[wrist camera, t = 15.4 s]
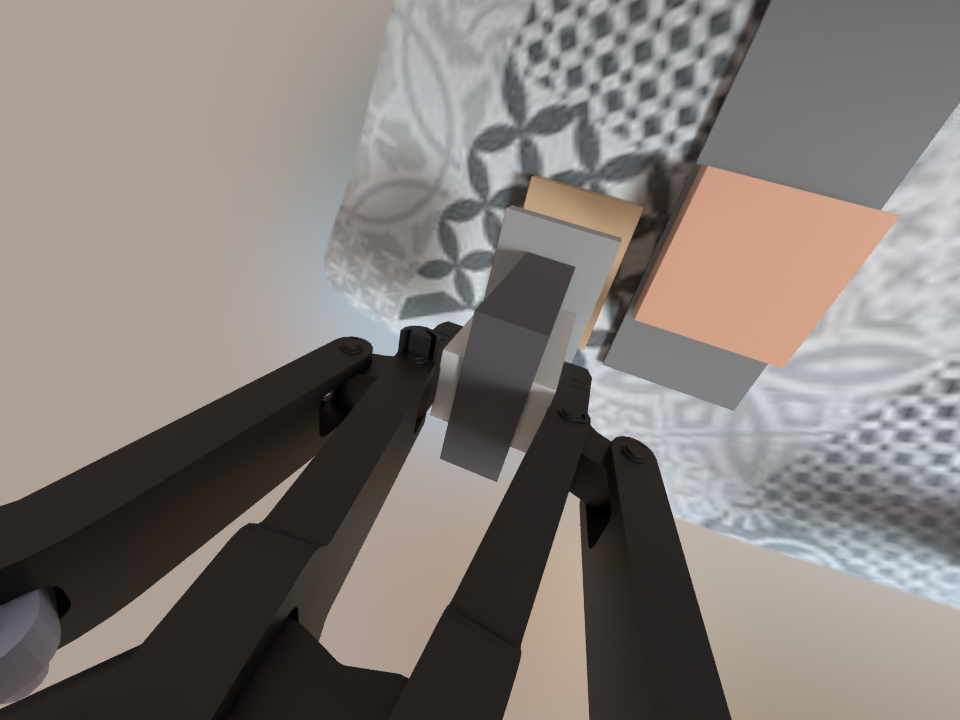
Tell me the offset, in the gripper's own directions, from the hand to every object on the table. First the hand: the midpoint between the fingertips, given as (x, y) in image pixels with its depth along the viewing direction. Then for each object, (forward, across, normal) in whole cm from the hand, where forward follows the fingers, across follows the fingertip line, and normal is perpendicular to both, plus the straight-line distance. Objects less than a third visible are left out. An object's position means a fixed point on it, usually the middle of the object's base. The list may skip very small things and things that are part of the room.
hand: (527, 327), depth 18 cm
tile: (+9, +10, +8) cm, 16 cm away
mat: (+11, +10, +5) cm, 16 cm away
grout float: (+2, 0, 0) cm, 2 cm away
